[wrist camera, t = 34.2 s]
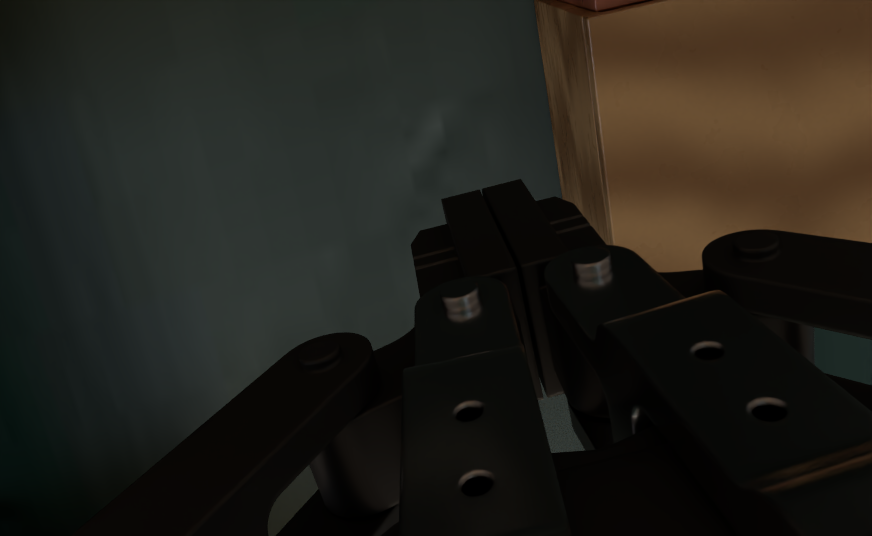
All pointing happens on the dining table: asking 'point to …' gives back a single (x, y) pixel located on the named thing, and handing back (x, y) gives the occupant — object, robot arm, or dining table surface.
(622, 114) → the cabinet
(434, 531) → the robot arm
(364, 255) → the dining table surface
